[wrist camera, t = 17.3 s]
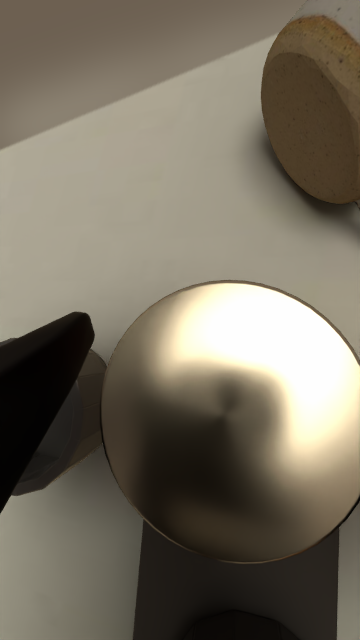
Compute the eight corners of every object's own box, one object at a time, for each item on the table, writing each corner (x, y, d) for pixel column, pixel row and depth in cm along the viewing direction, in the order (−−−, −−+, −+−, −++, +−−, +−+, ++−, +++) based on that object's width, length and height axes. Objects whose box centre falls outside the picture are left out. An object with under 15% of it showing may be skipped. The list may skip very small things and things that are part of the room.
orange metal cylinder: (256, 431, 14) (309, 633, 4) (176, 391, 15) (57, 471, 5) (291, 349, 14) (429, 343, 4) (210, 315, 15) (159, 243, 5)
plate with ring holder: (322, 784, 12) (360, 966, 8) (136, 714, 13) (102, 840, 10) (331, 482, 13) (366, 530, 9) (158, 453, 14) (135, 485, 11)
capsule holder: (110, 473, 15) (72, 509, 11) (2, 452, 16) (-60, 480, 13) (123, 346, 15) (91, 344, 12) (18, 337, 17) (-37, 333, 13)
